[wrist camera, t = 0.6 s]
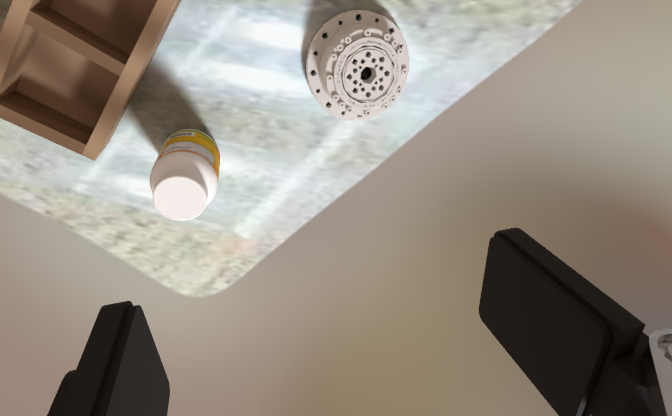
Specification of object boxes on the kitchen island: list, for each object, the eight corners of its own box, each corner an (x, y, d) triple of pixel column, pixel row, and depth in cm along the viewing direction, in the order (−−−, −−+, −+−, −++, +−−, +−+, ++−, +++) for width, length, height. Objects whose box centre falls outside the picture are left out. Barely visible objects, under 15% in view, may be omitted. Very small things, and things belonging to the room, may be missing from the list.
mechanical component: (354, -17, 35) (283, 72, 38) (368, -17, 32) (288, 82, 34) (423, 60, 40) (356, 135, 42) (442, 68, 36) (368, 150, 39)
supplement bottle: (201, 188, 41) (192, 239, 33) (151, 159, 39) (128, 207, 30) (230, 148, 40) (229, 191, 32) (181, 116, 37) (166, 154, 29)
